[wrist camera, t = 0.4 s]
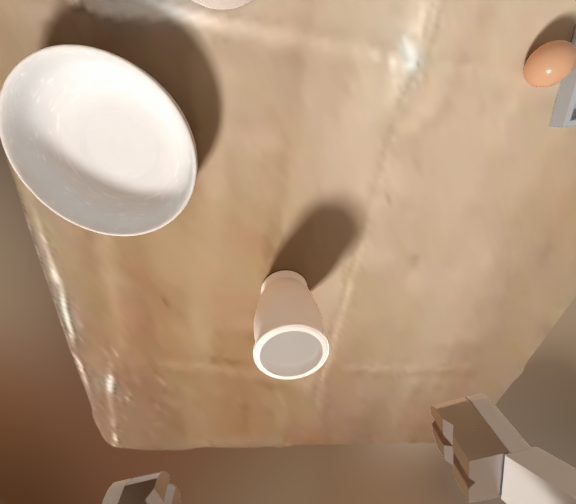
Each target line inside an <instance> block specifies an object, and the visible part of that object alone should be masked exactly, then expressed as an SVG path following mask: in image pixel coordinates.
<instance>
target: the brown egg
mask: <svg viewBox="0 0 576 504" xmlns="http://www.w3.org/2000/svg"><path fill="white" fill-rule="evenodd" d="M575 64H576V48H575V46H574V45H573V44H572V43H571V42H569V41H566V40H554V41H550V42H547V43H545V44H543V45H541V46H540V47H538V48H537V49H536V50H535V51H534V52H533V53H532V54H531V55H530V56H529V58H528V59H527V61H526V63H525V66H524V78H525V80H526V81H527V82H528V83H529V84H530V85H531V86H534V87H539V88H543V87H549V86H552V85H555V84H557V83H559V82H560V81H562V80H563V79H565V78H566V77H567V76H568V75H569V74H570V73H571V71H572V70H573V68H574V67H575Z"/></svg>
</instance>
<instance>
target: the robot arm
mask: <svg viewBox="0 0 576 504" xmlns="http://www.w3.org/2000/svg"><path fill="white" fill-rule="evenodd" d="M192 1H193V2H195V3H197V4H200V5H202V6H205V7H208V8H212V9H221V10H224V9H233V8H237V7H240V6H242V5H245V4H246V3H248V2H250V1H251V0H192ZM431 415H432V416H433V418H434V421H433V423H432V431H433V435H434V438H435V441H436V444H437V446H438V448H439V450H440V452H441V454H442V456H443V457H444V459H445V460H446V461H448V462H449V463H451V464H452V465H453V470H454V478H455V479H456V481H457V483H458V485H459V486H460V488H461V490H462V492H463V494H464V495H465V497H466V499H467V501H468V503H474V502H479V501H483V500H488V499H493V498H498V497H501V499H502V500H503V501H504V502H506V503H507V504H576V468H574V467H572V466H570V465H568V464H567V463H565V462H563V461H561V460H560V459H557V458H556V457H554V456H552V455H551V454H549V453H547V452H545V451H544V450H542V449H540V448H538V447H533V448H531V447H530V446H529V445H528V444H527V442H526V441H525V440H524V439H523V438H522V436H521V435H520V434H519V433H518V432H517V431H516V430H515V428H514V427H513V426H512V425H511V424H510V422H509V421H508V420H507V419H506V418H505V416H504V415H503V414H502V413H501V412H500V411H499V410H498V408H497V407H496V406H495V405H494V404H493V402H492V401H491V400H490V399H489V398H488V396H486V395H485V394H483V393H479V394H476V395H472V396H468V397H462V398H458V399H454V400H451V401H447V402H443V403H439V404H435V405H432V406H431ZM169 479H170V476H169V475H168V474H167V472H166V471H162V472H158V473H154V474H150V475H145V476H141V477H136V478H131V479H127V480H123V481H119V482H115V483H113V484H112V485H111V487H110V488H109V489H108V491H107V493H106V495H105V498H104V500H103V502H102V504H181V497H180V494H179V490H178V489H177V487H176V486H175V485H172V484H170V483H169Z"/></svg>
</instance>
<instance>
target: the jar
mask: <svg viewBox="0 0 576 504" xmlns="http://www.w3.org/2000/svg"><path fill="white" fill-rule="evenodd" d="M254 337H255V345H254V349H253V357H254V362H255V364H256V366H257V367H258V368H259V370H261V371H262V372H263V373H264V374H266V375H268V376H270V377H273V378H277V379H284V380H291V379H298V378H302V377H305V376H308V375H310V374H312V373H313V372H315V371H316V370H318V369H319V368H320V367H321V366H322V365H323V364H324V362H325V361H326V359H327V357H328V354H329V345H328V341H327V338H326V336H325V335H324V333H323V322H322V317H321V313H320V310H319V308H318V305H317V303H316V302H315V300H314V298H313V296H312V294H311V292H310V291H309V289H308V286H307V283H306V281H305V279H304V278H303V277H302V276H301V275H300V274H298V273H296V272H294V271H289V270H283V271H278V272H275V273H273V274H271V275H270V276H268V277H267V278H266V279H265V281H264V282H263V284H262V287H261V296H260V298H259V301H258V306H257V309H256V313H255V318H254Z"/></svg>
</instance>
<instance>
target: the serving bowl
mask: <svg viewBox="0 0 576 504" xmlns="http://www.w3.org/2000/svg"><path fill="white" fill-rule="evenodd" d="M0 137H1V141H2V144H3V147H4V150H5V152H6V155H7V157H8V159H9V161H10V163H11V165H12V167H13V168H14V170H15V172H16V173H17V175H18V176H19V178H20V179H21V180H22V182H23V183H24V184H25V185H26V187H27V188H28V189H29V190H30V191H31V192H32V193H33V194H34V195H35V196H36V197H37V198H38V199H39V200H40V201H41V202H42V203H43V204H44V205H45V206H47V207H48V208H49V209H51V210H52V211H53V212H55V213H56V214H58V215H59V216H61V217H62V218H64V219H66V220H68V221H69V222H71V223H73V224H75V225H77V226H80V227H82V228H85V229H88V230H90V231H94V232H97V233H101V234H106V235H114V236H134V235H141V234H146V233H149V232H152V231H155V230H157V229H159V228H161V227H163V226H165V225H167V224H168V223H170V222H171V221H172V220H174V219H175V218H176V217H177V216H178V215H179V214H180V213H181V212H182V211H183V209H184V208H185V207H186V205H187V204H188V202H189V200H190V198H191V196H192V193H193V191H194V188H195V184H196V178H197V170H198V159H197V150H196V145H195V140H194V137H193V134H192V131H191V129H190V126H189V124H188V122H187V120H186V118H185V116H184V114H183V112H182V110H181V109H180V107H179V106H178V104H177V103H176V102H175V100H174V99H173V98H172V96H171V95H170V94H169V93H168V92H167V91H166V90H165V88H164V87H163V86H162V85H161V84H160V83H158V82H157V81H156V80H155V79H154V78H153V77H152V76H150V75H149V74H148V73H147V72H145V71H144V70H142V69H141V68H139V67H138V66H136V65H134V64H133V63H131V62H129V61H128V60H126V59H124V58H122V57H120V56H118V55H115V54H113V53H111V52H108V51H105V50H102V49H99V48H95V47H91V46H86V45H76V44H62V45H55V46H49V47H46V48H43V49H40V50H38V51H35V52H33V53H31V54H29V55H28V56H26V57H25V58H23V59H22V60H21V61H20V62H19V63H18V64H17V65H16V66H15V67H14V68H13V69H12V71H11V72H10V73H9V75H8V77H7V78H6V80H5V82H4V84H3V87H2V90H1V93H0Z"/></svg>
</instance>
